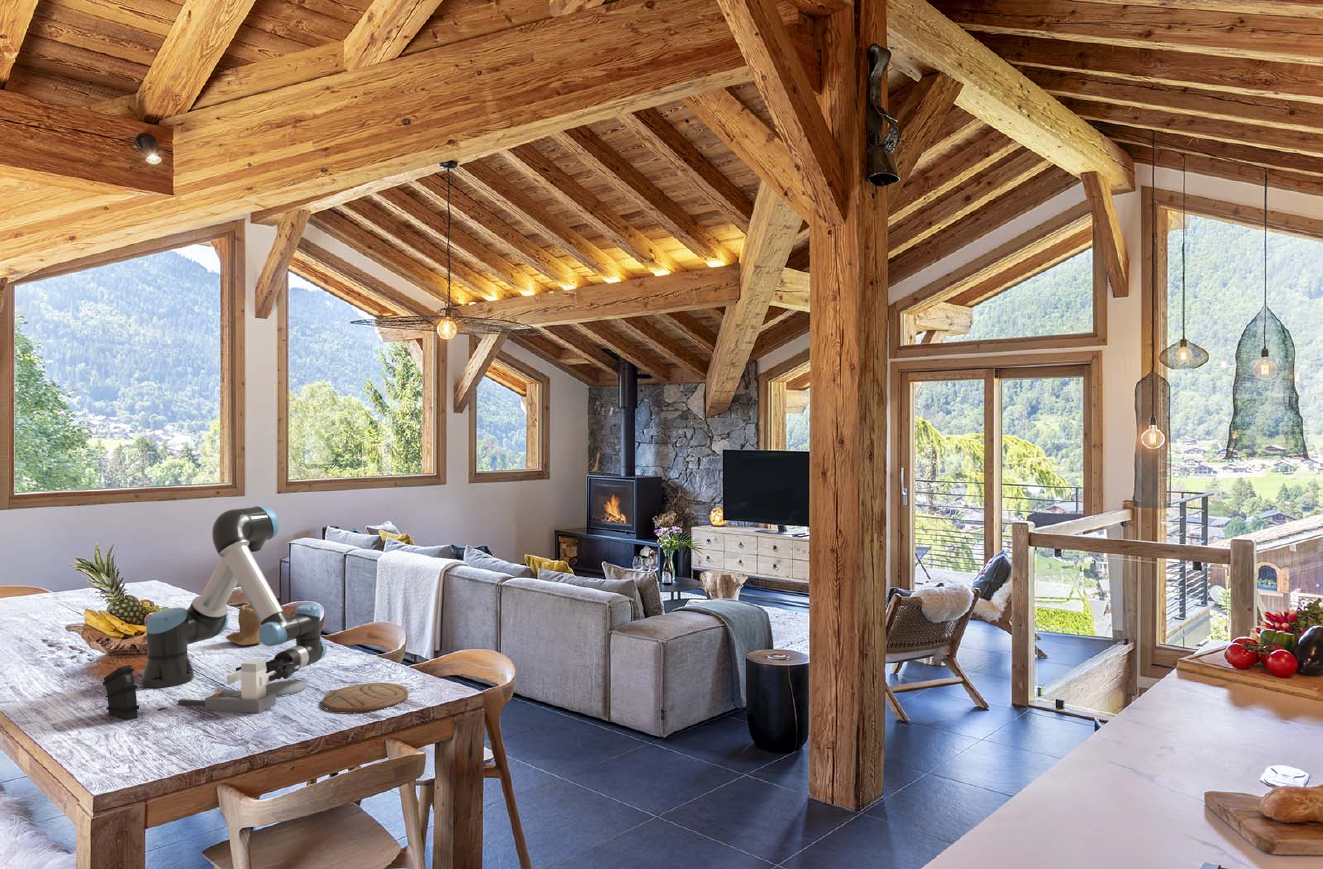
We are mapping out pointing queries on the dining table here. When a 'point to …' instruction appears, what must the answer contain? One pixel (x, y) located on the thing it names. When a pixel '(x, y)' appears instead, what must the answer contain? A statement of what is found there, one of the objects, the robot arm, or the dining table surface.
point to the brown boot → (246, 627)
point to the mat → (285, 687)
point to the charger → (252, 679)
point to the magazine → (121, 693)
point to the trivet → (365, 697)
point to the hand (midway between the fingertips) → (244, 680)
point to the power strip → (233, 702)
